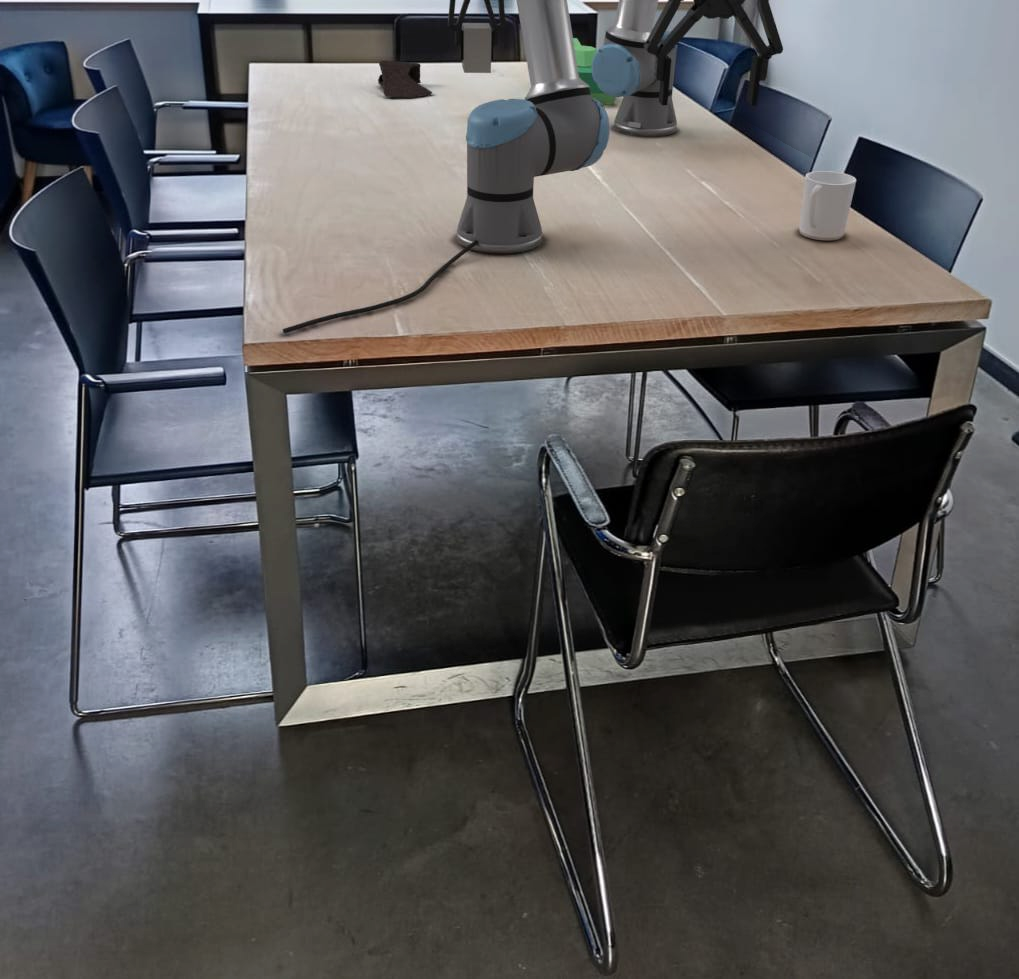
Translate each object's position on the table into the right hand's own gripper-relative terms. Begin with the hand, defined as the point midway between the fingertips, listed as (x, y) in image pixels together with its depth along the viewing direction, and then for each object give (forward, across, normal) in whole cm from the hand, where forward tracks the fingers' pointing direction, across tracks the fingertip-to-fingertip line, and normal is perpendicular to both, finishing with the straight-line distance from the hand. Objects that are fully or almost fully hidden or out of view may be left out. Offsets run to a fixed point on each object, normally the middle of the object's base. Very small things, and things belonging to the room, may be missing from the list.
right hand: (476, 59), depth 270 cm
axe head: (+14, +18, -30) cm, 37 cm away
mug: (+13, -56, +95) cm, 111 cm away
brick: (+2, 0, 0) cm, 2 cm away
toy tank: (+14, -30, -27) cm, 43 cm away
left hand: (-15, -26, +118) cm, 122 cm away
